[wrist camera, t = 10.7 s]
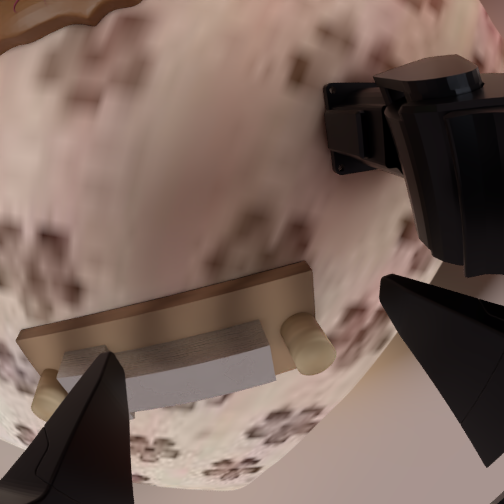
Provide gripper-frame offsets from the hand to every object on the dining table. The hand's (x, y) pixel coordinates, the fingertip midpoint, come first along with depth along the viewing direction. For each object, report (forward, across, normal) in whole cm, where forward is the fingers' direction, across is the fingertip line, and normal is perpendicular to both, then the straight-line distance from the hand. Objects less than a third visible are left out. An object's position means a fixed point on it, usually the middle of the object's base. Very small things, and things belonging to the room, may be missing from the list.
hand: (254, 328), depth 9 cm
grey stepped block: (+10, +6, +10) cm, 16 cm away
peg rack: (+12, +6, +10) cm, 17 cm away
